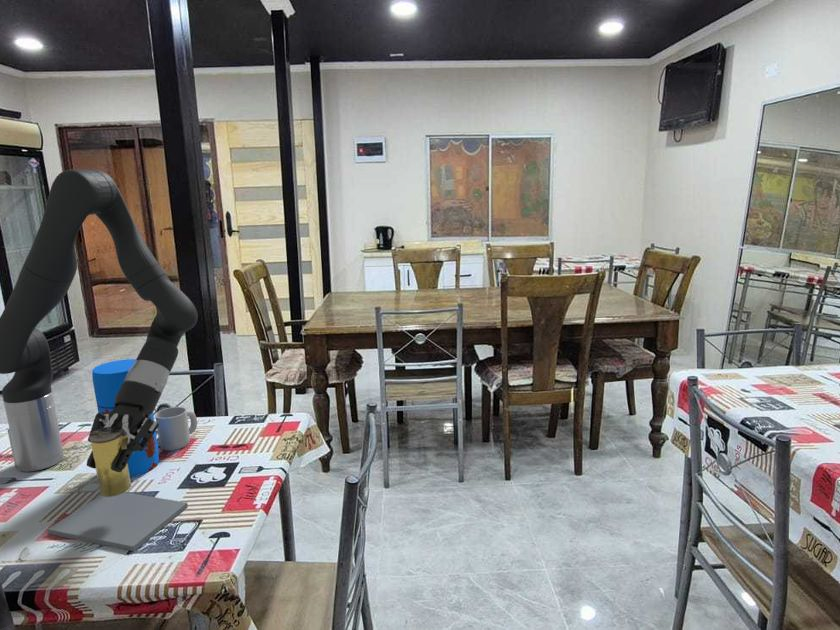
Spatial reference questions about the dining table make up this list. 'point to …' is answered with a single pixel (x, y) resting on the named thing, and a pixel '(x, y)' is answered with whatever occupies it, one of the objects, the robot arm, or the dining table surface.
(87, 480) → the dining table surface
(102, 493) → the canister
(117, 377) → the thermos
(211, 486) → the dining table surface
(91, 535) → the slate board
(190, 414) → the cup
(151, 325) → the robot arm
